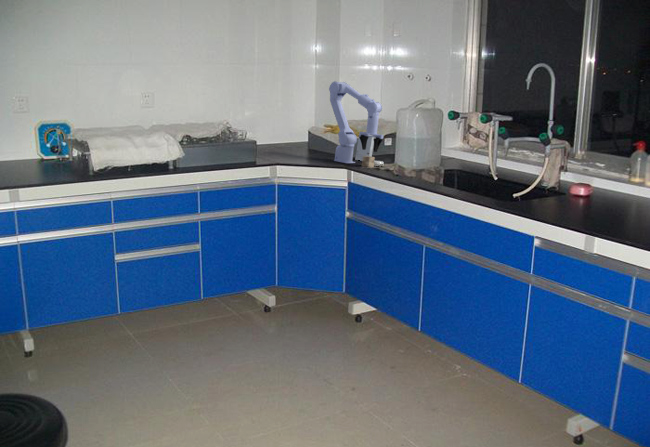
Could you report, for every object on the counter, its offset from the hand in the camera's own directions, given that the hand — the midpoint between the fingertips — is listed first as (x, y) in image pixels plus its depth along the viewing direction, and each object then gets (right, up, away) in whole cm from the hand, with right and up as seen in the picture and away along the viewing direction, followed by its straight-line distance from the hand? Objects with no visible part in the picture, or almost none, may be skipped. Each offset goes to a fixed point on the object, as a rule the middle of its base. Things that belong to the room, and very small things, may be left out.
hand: (369, 150), depth 363 cm
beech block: (-1, -8, +2) cm, 9 cm away
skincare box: (-2, -3, +26) cm, 26 cm away
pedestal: (+5, -7, +9) cm, 12 cm away
